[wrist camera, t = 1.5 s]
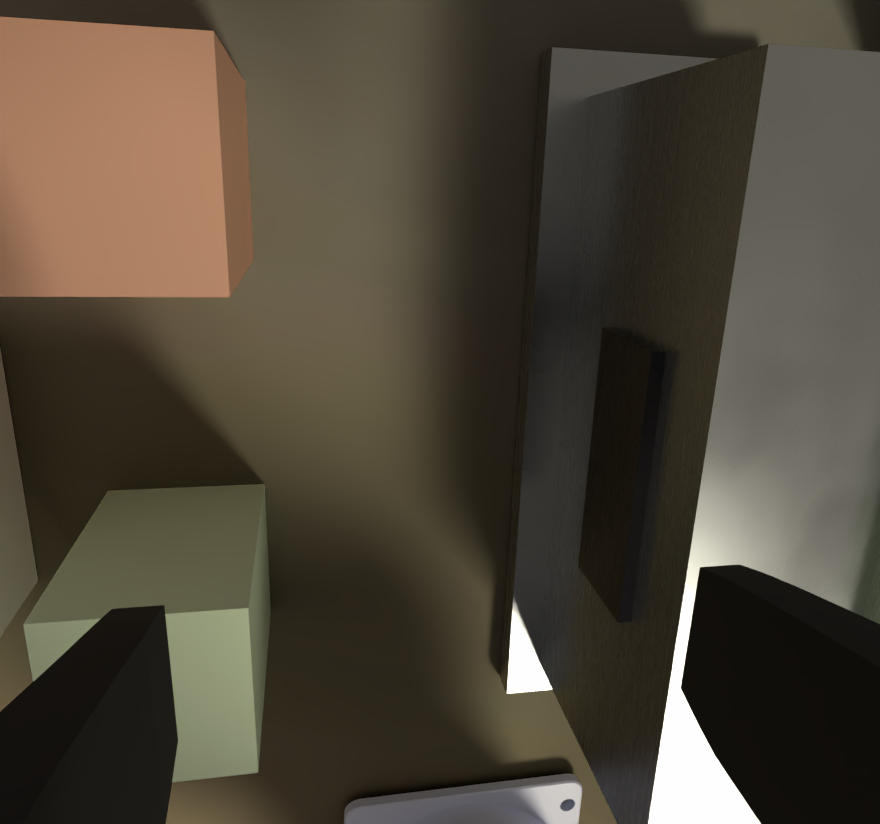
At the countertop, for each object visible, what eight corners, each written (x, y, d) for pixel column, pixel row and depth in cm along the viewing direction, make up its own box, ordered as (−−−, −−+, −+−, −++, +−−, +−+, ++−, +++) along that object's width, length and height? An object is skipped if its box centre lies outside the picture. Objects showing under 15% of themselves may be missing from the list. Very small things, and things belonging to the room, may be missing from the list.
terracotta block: (253, 259, 18) (230, 296, 12) (79, 257, 17) (-34, 296, 11) (245, 82, 16) (213, 30, 11) (56, 71, 16) (-84, 10, 10)
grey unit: (673, 660, 24) (859, 902, 16) (499, 677, 23) (605, 945, 15) (765, 67, 18) (1120, -19, 10) (541, 52, 17) (745, -57, 9)
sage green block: (270, 610, 21) (258, 772, 15) (124, 621, 20) (53, 795, 14) (264, 483, 19) (248, 608, 14) (108, 490, 19) (23, 624, 13)
